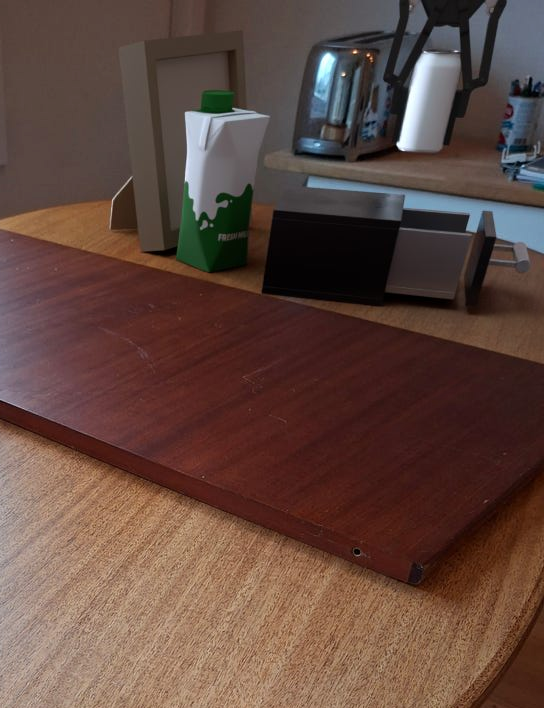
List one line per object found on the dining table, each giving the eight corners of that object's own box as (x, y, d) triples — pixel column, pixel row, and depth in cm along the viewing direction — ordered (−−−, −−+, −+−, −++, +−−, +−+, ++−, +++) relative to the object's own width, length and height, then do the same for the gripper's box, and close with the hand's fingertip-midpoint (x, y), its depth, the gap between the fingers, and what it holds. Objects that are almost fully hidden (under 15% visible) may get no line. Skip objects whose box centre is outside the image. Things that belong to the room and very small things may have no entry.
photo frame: (251, 228, 136) (277, 32, 120) (163, 257, 123) (179, 44, 108) (175, 211, 144) (190, 25, 128) (86, 237, 131) (90, 35, 115)
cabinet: (387, 274, 118) (405, 194, 112) (381, 306, 108) (401, 220, 102) (276, 263, 122) (288, 185, 115) (261, 293, 112) (273, 209, 105)
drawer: (512, 280, 113) (534, 214, 108) (518, 311, 104) (542, 241, 99) (366, 265, 118) (380, 201, 113) (359, 294, 108) (374, 226, 103)
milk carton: (213, 249, 126) (231, 87, 114) (257, 265, 121) (281, 96, 108) (166, 259, 123) (179, 92, 110) (208, 276, 117) (227, 102, 104)
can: (436, 155, 124) (460, 53, 117) (390, 150, 127) (411, 51, 119) (446, 148, 128) (470, 50, 121) (402, 144, 131) (423, 47, 124)
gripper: (545, -61, 113) (490, 142, 127) (389, -62, 118) (353, 134, 132) (550, -62, 107) (492, 151, 122) (386, -62, 112) (349, 142, 127)
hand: (420, 141), depth 127 cm, fingers closed on can, 6 cm apart
